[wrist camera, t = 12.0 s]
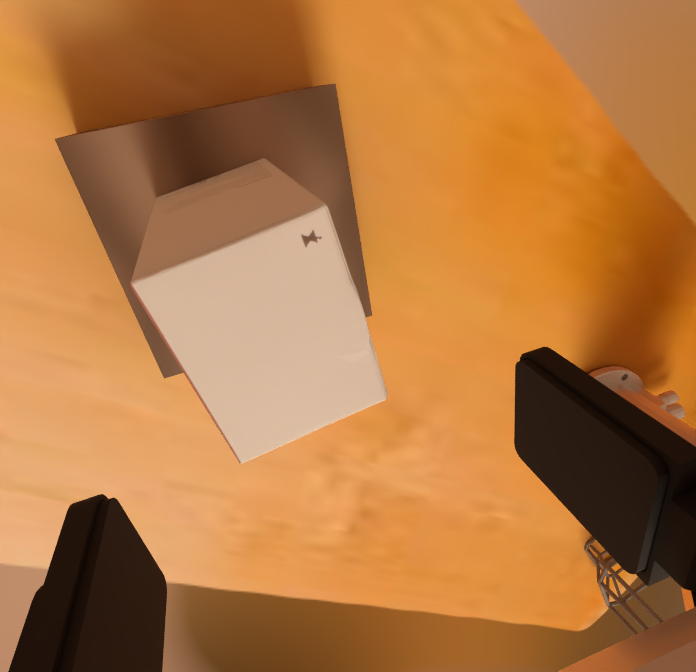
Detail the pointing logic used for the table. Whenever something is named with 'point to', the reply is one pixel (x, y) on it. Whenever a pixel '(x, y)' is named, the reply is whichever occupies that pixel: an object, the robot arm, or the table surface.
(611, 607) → the geometric lantern
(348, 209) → the walnut plinth
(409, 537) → the table surface
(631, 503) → the robot arm
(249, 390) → the small box
